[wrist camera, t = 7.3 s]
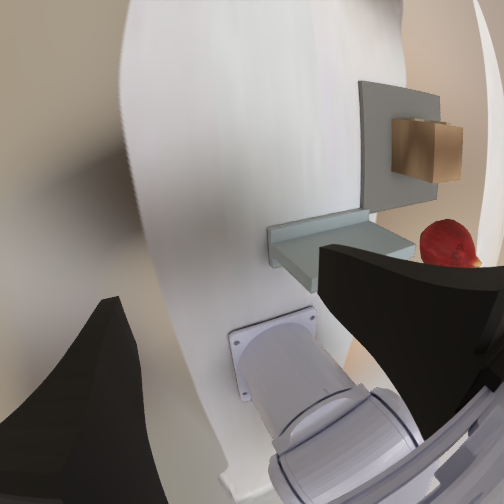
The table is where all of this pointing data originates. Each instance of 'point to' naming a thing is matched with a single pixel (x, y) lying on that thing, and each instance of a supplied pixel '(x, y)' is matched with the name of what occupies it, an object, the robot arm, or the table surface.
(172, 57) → the table surface
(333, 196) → the table surface
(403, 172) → the taped cardboard box
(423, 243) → the onion
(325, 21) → the table surface
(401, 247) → the screen
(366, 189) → the grey square plate
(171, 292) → the table surface
